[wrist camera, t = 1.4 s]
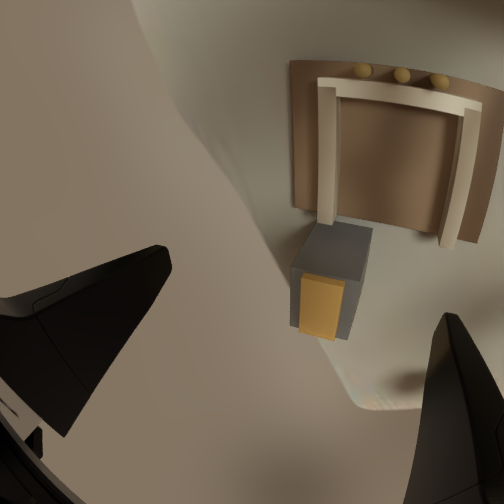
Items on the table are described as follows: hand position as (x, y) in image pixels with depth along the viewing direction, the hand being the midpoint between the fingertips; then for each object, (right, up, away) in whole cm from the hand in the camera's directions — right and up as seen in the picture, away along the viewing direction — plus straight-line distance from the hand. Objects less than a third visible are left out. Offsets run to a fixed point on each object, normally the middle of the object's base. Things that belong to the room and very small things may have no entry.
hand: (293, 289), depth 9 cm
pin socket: (+8, +7, +8) cm, 13 cm away
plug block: (+6, +1, +14) cm, 15 cm away
